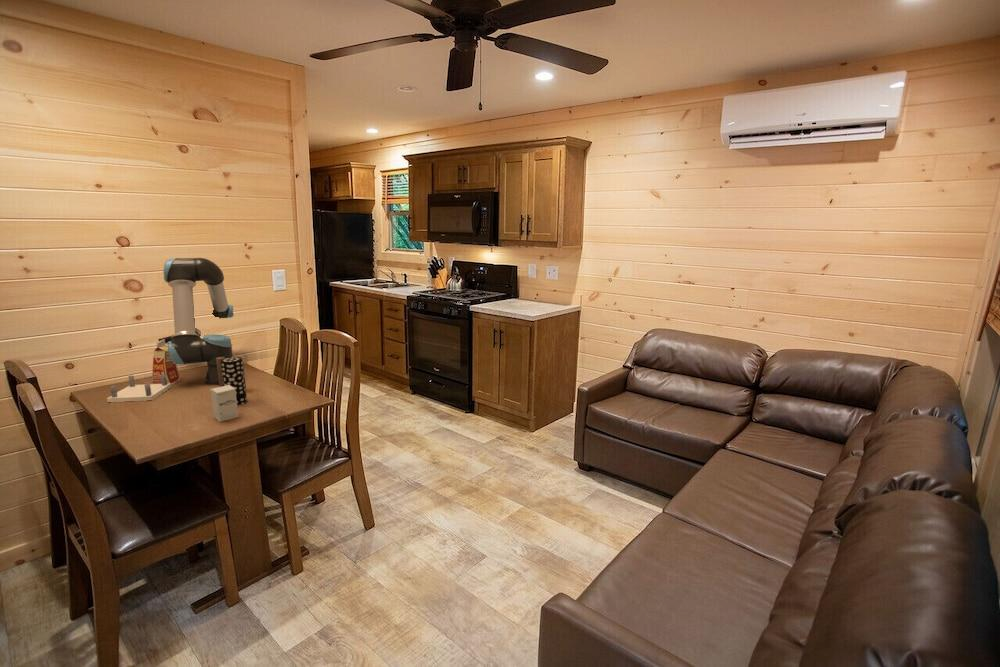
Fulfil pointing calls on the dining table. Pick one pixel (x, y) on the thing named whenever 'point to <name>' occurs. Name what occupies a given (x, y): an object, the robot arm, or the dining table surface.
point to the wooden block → (221, 371)
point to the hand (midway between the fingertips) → (172, 344)
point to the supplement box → (224, 403)
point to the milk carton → (163, 366)
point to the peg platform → (139, 391)
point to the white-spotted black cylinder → (234, 377)
